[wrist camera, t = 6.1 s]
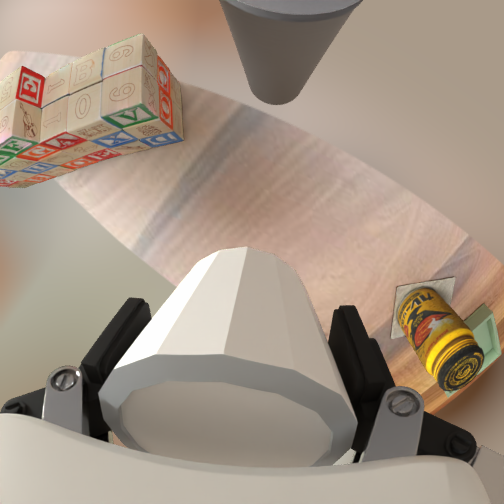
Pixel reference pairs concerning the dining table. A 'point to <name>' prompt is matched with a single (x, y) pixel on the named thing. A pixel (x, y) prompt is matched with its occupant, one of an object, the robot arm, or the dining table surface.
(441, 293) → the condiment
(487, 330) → the tray
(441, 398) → the dining table surface
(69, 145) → the stack of blocks
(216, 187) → the dining table surface
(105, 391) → the shot glass
